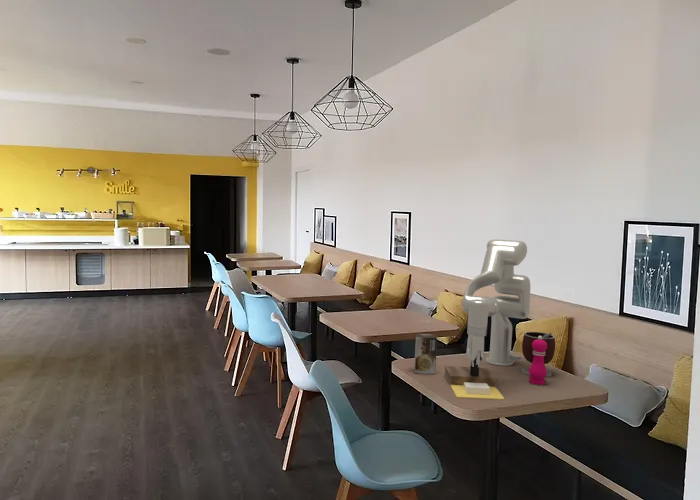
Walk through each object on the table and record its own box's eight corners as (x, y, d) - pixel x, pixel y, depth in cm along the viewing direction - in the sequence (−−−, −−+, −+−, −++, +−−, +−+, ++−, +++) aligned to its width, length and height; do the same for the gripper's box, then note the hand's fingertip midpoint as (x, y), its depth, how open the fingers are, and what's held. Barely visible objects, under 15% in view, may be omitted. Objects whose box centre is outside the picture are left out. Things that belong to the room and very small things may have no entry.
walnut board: (486, 377, 236) (487, 367, 236) (494, 387, 222) (495, 377, 222) (444, 375, 236) (445, 366, 236) (450, 385, 222) (450, 376, 222)
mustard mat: (494, 387, 222) (495, 386, 222) (504, 399, 208) (504, 398, 208) (450, 385, 222) (450, 384, 222) (456, 397, 208) (457, 396, 208)
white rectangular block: (490, 388, 212) (489, 394, 212) (486, 383, 218) (486, 389, 218) (466, 387, 212) (466, 393, 212) (463, 382, 218) (463, 388, 218)
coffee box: (434, 370, 243) (436, 334, 242) (435, 374, 237) (437, 337, 235) (413, 368, 244) (415, 332, 243) (414, 373, 237) (416, 336, 236)
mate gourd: (514, 368, 251) (517, 325, 250) (541, 367, 254) (544, 325, 253) (533, 379, 236) (536, 333, 234) (561, 378, 239) (565, 332, 238)
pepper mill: (529, 379, 236) (532, 333, 234) (547, 381, 233) (550, 335, 231) (526, 383, 230) (530, 336, 228) (545, 386, 226) (548, 338, 225)
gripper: (463, 326, 226) (461, 370, 227) (471, 334, 211) (468, 381, 213) (482, 327, 226) (479, 370, 227) (491, 335, 211) (488, 382, 213)
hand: (474, 375), depth 220 cm, fingers closed
